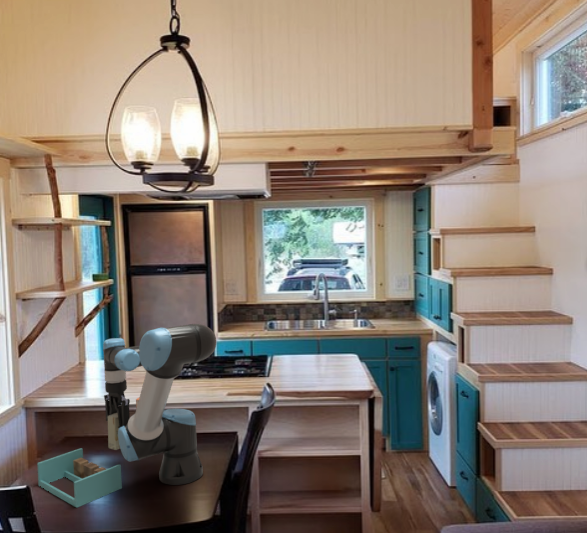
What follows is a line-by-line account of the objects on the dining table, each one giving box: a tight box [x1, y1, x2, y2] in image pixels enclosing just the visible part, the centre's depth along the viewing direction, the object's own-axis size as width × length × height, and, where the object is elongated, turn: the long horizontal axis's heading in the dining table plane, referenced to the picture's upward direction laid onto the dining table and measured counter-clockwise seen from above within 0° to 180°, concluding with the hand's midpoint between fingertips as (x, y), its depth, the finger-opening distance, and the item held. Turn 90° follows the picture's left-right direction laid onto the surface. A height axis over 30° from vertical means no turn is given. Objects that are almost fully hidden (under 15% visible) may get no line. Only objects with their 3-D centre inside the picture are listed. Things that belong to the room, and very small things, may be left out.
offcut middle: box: [83, 461, 100, 478], centre depth 181 cm, size 5×3×6 cm, turn 51°
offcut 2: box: [94, 466, 107, 474], centre depth 176 cm, size 5×3×6 cm, turn 51°
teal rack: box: [37, 447, 123, 508], centre depth 177 cm, size 26×16×8 cm, turn 51°
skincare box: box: [107, 413, 121, 451], centre depth 193 cm, size 6×4×12 cm
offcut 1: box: [73, 457, 90, 479], centre depth 185 cm, size 5×3×6 cm, turn 51°
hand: (118, 441), depth 193 cm, fingers closed on skincare box, 5 cm apart
